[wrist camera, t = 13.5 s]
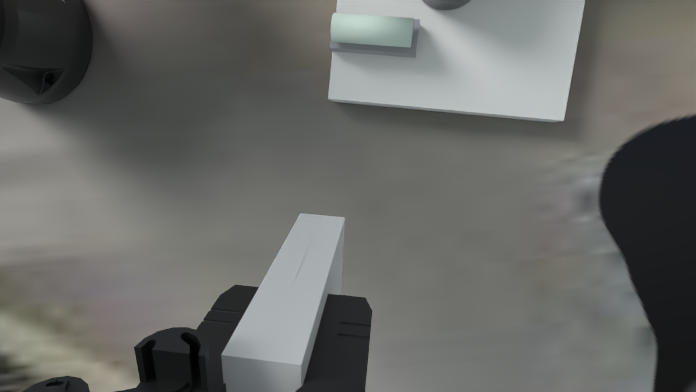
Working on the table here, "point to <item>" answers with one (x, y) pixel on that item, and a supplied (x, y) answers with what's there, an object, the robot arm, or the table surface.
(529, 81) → the instrument base
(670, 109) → the table surface
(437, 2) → the dark grey lever
